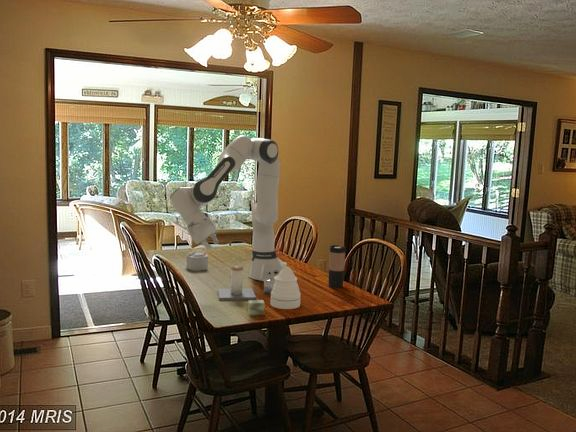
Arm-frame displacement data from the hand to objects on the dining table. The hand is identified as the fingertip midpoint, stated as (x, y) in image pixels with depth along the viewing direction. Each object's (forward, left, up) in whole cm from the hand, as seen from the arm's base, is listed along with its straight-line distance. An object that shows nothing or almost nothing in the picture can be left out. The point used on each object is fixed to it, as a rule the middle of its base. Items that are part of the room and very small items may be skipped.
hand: (213, 245), depth 228 cm
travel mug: (-61, -9, -22) cm, 65 cm away
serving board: (-11, +4, -22) cm, 25 cm away
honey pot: (-31, +18, -22) cm, 42 cm away
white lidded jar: (-10, +4, -21) cm, 24 cm away
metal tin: (-27, 0, -22) cm, 35 cm away
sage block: (-17, +29, -22) cm, 40 cm away
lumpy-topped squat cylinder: (+7, -50, -22) cm, 55 cm away
